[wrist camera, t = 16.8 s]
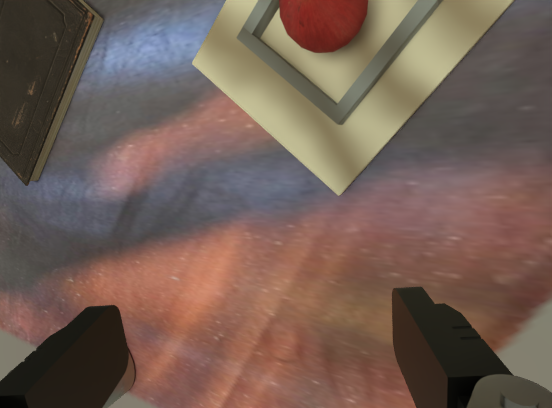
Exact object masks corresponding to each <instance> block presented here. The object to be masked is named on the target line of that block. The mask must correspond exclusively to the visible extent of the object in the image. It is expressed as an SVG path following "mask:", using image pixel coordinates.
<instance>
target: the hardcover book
mask: <svg viewBox="0 0 552 408" xmlns="http://www.w3.org/2000/svg"><path fill="white" fill-rule="evenodd" d="M102 23H103V19H102V18H101V17H100V16H99V15H98V14H97V13H96V12H95V11H94V10H93V9H92V8H90V7H89V6H88V5H87V4H86V3H85V2H84V1H83V0H0V157H1V158H2V159H3V160H4V162H5V163H6V164H7V165H8V166H9V167H10V168H11V170H12V171H13V172H14V173H15V174H16V175H17V176H18V178H19V179H20V180H21V181H22V182H23V183H24V184H25V185H26V186H28V184H29V182H30V181H37V180H38V179H39V177H40V174H41V172H42V169H43V167H44V165H45V162H46V160H47V157H48V155H49V152H50V150H51V147H52V145H53V143H54V140H55V138H56V135H57V133H58V130H59V128H60V125H61V123H62V121H63V118H64V116H65V113H66V111H67V108H68V106H69V103H70V101H71V98H72V96H73V94H74V91H75V89H76V86H77V84H78V81H79V79H80V76H81V74H82V72H83V69H84V67H85V64H86V62H87V59H88V57H89V54H90V52H91V50H92V47H93V45H94V42H95V40H96V37H97V35H98V32H99V30H100V28H101V25H102Z"/></svg>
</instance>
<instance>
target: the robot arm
mask: <svg viewBox="0 0 552 408" xmlns="http://www.w3.org/2000/svg"><path fill="white" fill-rule="evenodd" d="M392 321H393V345H394V351H395V355H396V359H397V362H398V364H399V367H400V369H401V372H402V374H403V376H404V379H405V381H406V384H407V386H408V388H409V391H410V393H411V395H412V398H413V400H414V403H415V405H416V407H417V408H552V393H551V392H550V391H548V390H547V389H546V388H544V387H542V386H540V385H539V384H537V383H534V382H532V381H530V380H527V379H524V378H521V377H517V376H514V375H513V374H512V373H511V372H510V371H509V370H508V368H507V367H506V366H505V365H504V364H503V362H502V361H501V360H500V359H499V358H498V356H497V355H496V354H495V353H494V352H493V351H492V349H491V348H490V347H489V346H488V345H487V343H486V342H485V341H484V340H483V339H481V337H480V335H479V334H478V333H477V332H476V330H475V329H474V328H472V326H471V324H470V323H469V322H468V321H467V320H466V318H465V317H464V316H463V315H462V314H461V313H460V312H458V311H456V310H455V309H453V308H451V307H450V306H448V305H446V304H445V303H444V304H434V302H433V301H432V300H431V298H430V297H429V296H428V294H427V293H426V292H425V290H424V289H423V288H422V287H407V288H394V289H393V291H392ZM134 378H135V370H134V364H133V360H132V358H131V355H130V353H129V351H128V347H127V342H126V338H125V333H124V329H123V324H122V319H121V315H120V311H119V309H118V307H117V306H115V305H107V306H91V307H87V308H85V309H84V310H83V311H82V312H81V313H80V314H79V315H78V316H77V317H76V318H75V319H74V320H72V321H71V322H70V323H69V324H68V325H67V326H66V327H64V328H63V329H61V330H59V331H58V332H56V333H54V334H53V335H51V336H50V337H48V338H47V339H46V340H45V341H44V342H43V343H42V344H41V345H40V346H39V347H37V348H36V351H33V352H32V353H31V354H30V355H29V356H28V357H26V358H25V361H24V362H21V363H20V364H19V365H18V366H17V367H15V368H14V369H13V370H11V371H10V372H9V373H8V375H7V376H5V378H3V379H2V380H1V381H0V408H108V407H109V406H110V405H111V404H113V403H114V402H115V401H116V400H117V399H119V398H120V397H121V396H122V395H124V394H125V393H126V392H127V391H128V390H129V389H130V388H131V387H132V385H133V382H134Z"/></svg>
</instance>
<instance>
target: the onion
mask: <svg viewBox="0 0 552 408" xmlns="http://www.w3.org/2000/svg"><path fill="white" fill-rule="evenodd" d="M367 9H368V0H279V10H280V18H281V21H282V23H283V25H284V28H285V30H286V33H287V35H288V36H290V37H291V38H292V39H293V40H294V41H295V42H296V43H297V44H298V45H299V46H300V47H301V48H304V49H306V50H309V51H311V52H314V53H328V52H335V51H336V50H338V49H340V48H342V47H344V46H346V45H347V44H348V43H349V42H350V41H351V40H352V39H353V38H354V37H355V36H356V35H357V33H358V32H359V31H360V29H361V27H362V25H363V22H364V20H365V18H366V16H367Z"/></svg>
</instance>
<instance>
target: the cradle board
mask: <svg viewBox="0 0 552 408" xmlns="http://www.w3.org/2000/svg"><path fill="white" fill-rule="evenodd" d="M514 1H515V0H368V9H367V16H366V18H365V20H364V22H363V25H362V27H361V29H360V31H359V32H358V33H357V35H356V36H355V37H354V38H353V39H352V40H351V41H350V42H349V43H348V44H347V45H346V46H344V47H342V48H340V49H338V50H336V51H335V52H328V53H314V52H311V51H309V50H306V49H304V48H301V47H300V46H299V45H298V44H297V43H296V42H295V41H294V40H293V39H292V38H291V37H290V36H288V35H287V33H286V30H285V28H284V25H283V23H282V21H281V18H280V10H279V0H226V2H225V4H224V6H223V8H222V9H221V11H220V13H219V15H218V17H217V19H216V20H215V22H214V24H213V26H212V28H211V29H210V31H209V33H208V35H207V37H206V39H205V40H204V42H203V44H202V46H201V48H200V50H199V51H198V53H197V55H196V57H195V59H194V60H193V62H192V64H193V65H194V66H195V67H196V68H198V69H199V70H200V71H201V72H202V73H203V74H204V75H205V76H206V77H207V78H209V79H210V80H211V81H212V82H213V83H214V84H215V85H216V86H217V87H219V88H220V89H221V90H222V91H223V92H224V93H225V94H226V95H227V96H229V97H230V98H231V99H232V100H233V101H234V102H235V103H236V104H237V105H238V106H240V107H241V108H242V109H243V110H244V111H245V112H246V113H247V114H248V115H250V116H251V117H252V118H253V119H254V120H255V121H256V122H257V123H258V124H260V125H261V126H262V127H263V128H264V129H265V130H266V131H267V132H268V133H269V134H271V135H272V136H273V137H274V138H275V139H276V140H277V141H278V142H279V143H281V144H282V145H283V146H284V147H285V148H286V149H287V150H288V151H289V152H291V153H292V154H293V155H294V156H295V157H296V158H297V159H298V160H299V161H301V162H302V163H303V164H304V165H305V166H306V167H307V168H308V169H309V170H310V171H312V172H313V173H314V174H315V175H316V176H317V177H318V178H319V179H320V180H322V181H323V182H324V183H325V184H326V185H327V186H328V187H329V188H330V189H332V190H333V191H334V192H335V193H336V194H337V195H338V196H340V195H341V194H342V193H343V192H344V191H345V190H346V189H347V188H348V187H349V186H350V184H351V183H352V182H353V181H354V180H355V179H356V178H357V177H358V175H359V174H360V173H361V172H362V171H363V170H364V169H365V168H366V167H367V165H368V164H369V163H370V162H371V161H372V160H373V159H374V158H375V156H376V155H377V154H378V153H379V152H380V151H381V150H382V149H383V147H384V146H385V145H386V144H387V143H388V142H389V141H390V140H391V139H392V137H393V136H394V135H395V134H396V133H397V132H398V131H399V130H400V128H401V127H402V126H403V125H404V124H405V123H406V122H407V121H408V119H409V118H410V117H411V116H412V115H413V114H414V113H415V112H416V111H417V109H418V108H419V107H420V106H421V105H422V104H423V103H424V102H425V100H426V99H427V98H428V97H429V96H430V95H431V94H432V93H433V91H434V90H435V89H436V88H437V87H438V86H439V85H440V84H441V83H442V81H443V80H444V79H445V78H446V77H447V76H448V75H449V74H450V72H451V71H452V70H453V69H454V68H455V67H456V66H457V65H458V63H459V62H460V61H461V60H462V59H463V58H464V57H465V56H466V55H467V53H468V52H469V51H470V50H471V49H472V48H473V47H474V46H475V44H476V43H477V42H478V41H479V40H480V39H481V38H482V37H483V35H484V34H485V33H486V32H487V31H488V30H489V29H490V28H491V27H492V25H493V24H494V23H495V22H496V21H497V20H498V19H499V18H500V16H501V15H502V14H503V13H504V12H505V11H506V10H507V9H508V7H509V6H510V5H511V4H512V3H513V2H514Z"/></svg>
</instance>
